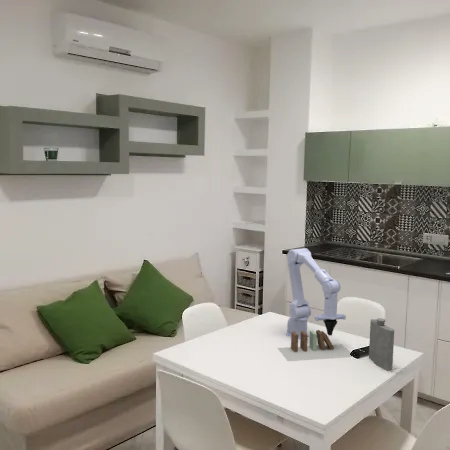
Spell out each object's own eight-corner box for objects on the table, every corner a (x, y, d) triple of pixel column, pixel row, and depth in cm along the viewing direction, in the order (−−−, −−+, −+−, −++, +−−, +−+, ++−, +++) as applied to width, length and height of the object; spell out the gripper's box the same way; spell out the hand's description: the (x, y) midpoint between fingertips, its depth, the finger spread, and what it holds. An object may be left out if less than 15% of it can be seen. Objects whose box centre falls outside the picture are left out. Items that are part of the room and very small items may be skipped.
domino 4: (331, 349, 236) (323, 336, 234) (327, 346, 241) (319, 332, 239) (334, 348, 236) (326, 334, 234) (330, 344, 241) (322, 330, 239)
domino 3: (322, 350, 235) (319, 334, 234) (318, 346, 240) (315, 330, 239) (325, 349, 235) (323, 333, 234) (321, 345, 240) (318, 329, 239)
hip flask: (393, 370, 214) (396, 324, 211) (385, 371, 213) (387, 325, 210) (373, 356, 229) (375, 313, 227) (365, 357, 228) (367, 314, 226)
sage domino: (313, 351, 234) (313, 334, 233) (309, 347, 239) (309, 330, 238) (316, 350, 235) (316, 334, 234) (312, 346, 239) (313, 330, 238)
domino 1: (294, 352, 232) (294, 335, 231) (290, 348, 237) (291, 331, 236) (297, 352, 233) (298, 335, 232) (294, 348, 238) (294, 331, 237)
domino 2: (303, 351, 233) (304, 334, 232) (300, 347, 238) (300, 331, 237) (307, 351, 234) (307, 334, 233) (303, 347, 238) (303, 331, 237)
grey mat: (288, 361, 222) (288, 361, 222) (277, 348, 238) (277, 348, 238) (356, 357, 228) (356, 356, 228) (341, 344, 244) (341, 344, 244)
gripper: (319, 309, 231) (318, 338, 232) (349, 308, 233) (347, 336, 235) (313, 305, 237) (312, 333, 239) (342, 303, 240) (341, 331, 242)
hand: (329, 334), depth 238 cm, fingers closed
